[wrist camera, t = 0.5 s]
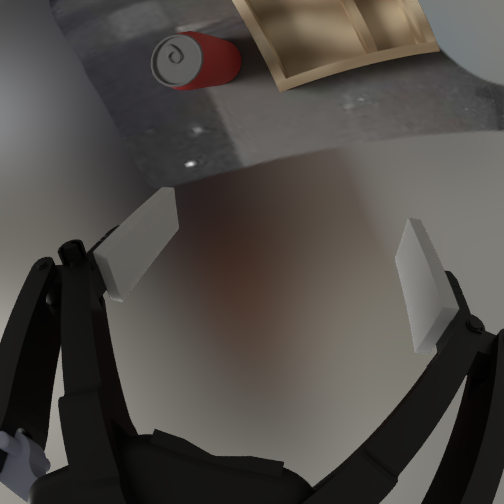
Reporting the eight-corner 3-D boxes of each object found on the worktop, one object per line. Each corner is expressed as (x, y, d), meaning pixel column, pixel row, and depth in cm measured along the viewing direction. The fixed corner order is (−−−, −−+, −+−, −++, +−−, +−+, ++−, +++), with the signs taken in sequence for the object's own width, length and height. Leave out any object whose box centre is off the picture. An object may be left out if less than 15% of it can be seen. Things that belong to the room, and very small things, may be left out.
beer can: (229, 31, 28) (189, 16, 19) (251, 71, 31) (220, 71, 22) (186, 55, 31) (136, 53, 22) (208, 93, 34) (163, 104, 24)
